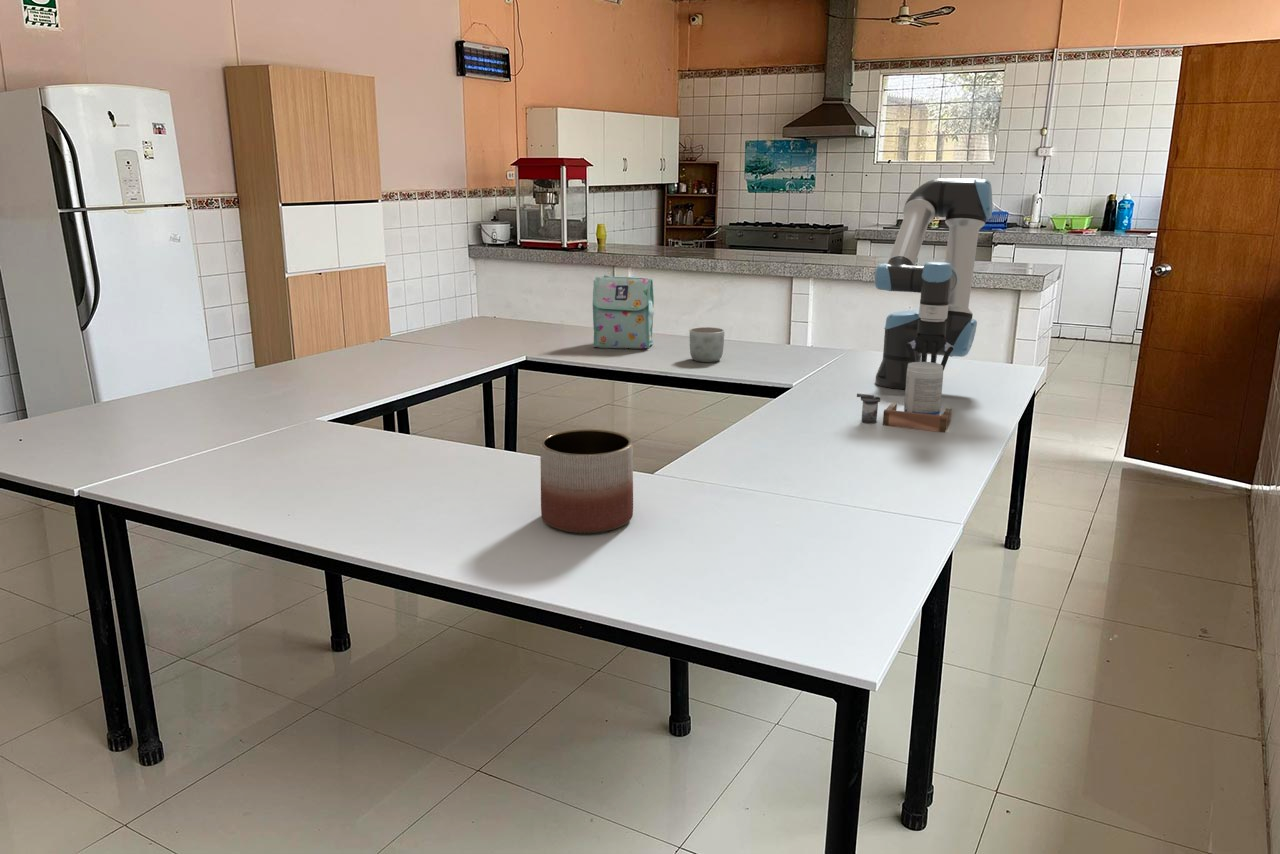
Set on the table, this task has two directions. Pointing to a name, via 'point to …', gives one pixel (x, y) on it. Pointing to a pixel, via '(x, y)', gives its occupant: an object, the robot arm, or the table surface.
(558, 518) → the planter
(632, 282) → the lunch bag
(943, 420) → the bay
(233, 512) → the table surface
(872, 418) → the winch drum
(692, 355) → the planter
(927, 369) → the supplement tub
